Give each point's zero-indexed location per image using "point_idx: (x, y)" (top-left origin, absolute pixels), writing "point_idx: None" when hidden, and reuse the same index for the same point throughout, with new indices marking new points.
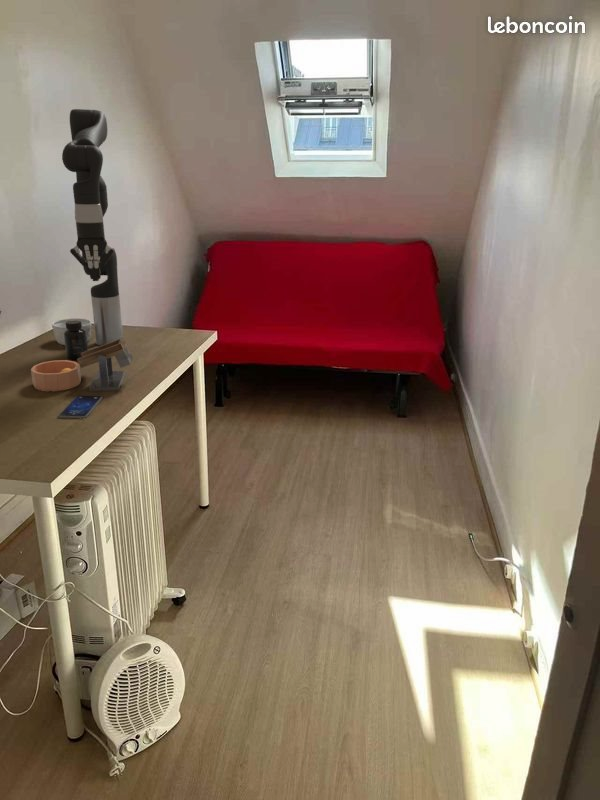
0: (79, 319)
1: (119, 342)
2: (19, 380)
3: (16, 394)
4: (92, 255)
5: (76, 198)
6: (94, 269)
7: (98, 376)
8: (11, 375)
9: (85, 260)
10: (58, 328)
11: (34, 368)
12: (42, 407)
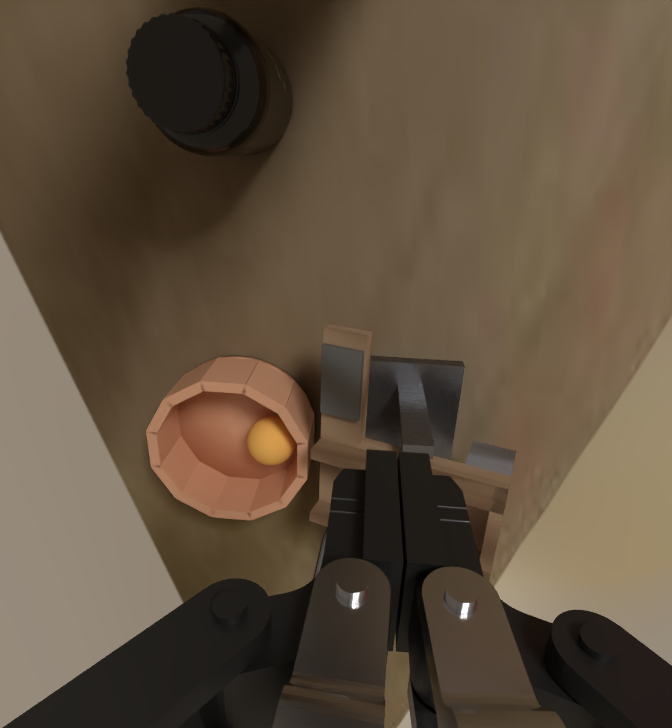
0: None
1: (484, 557)
2: (108, 371)
3: (150, 484)
4: None
5: None
6: (400, 639)
7: (372, 411)
8: (57, 315)
9: (224, 681)
10: None
11: (159, 458)
12: (250, 574)
